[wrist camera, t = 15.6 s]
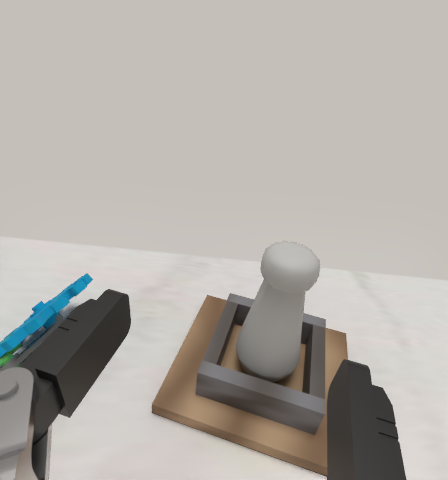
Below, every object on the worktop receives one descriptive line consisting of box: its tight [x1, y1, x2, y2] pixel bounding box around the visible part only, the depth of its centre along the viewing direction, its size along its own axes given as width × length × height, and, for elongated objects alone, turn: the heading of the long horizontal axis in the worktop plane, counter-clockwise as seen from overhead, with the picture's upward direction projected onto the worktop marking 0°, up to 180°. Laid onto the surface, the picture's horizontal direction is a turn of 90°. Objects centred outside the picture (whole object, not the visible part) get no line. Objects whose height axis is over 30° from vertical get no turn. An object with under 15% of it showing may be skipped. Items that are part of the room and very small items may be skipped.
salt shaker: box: [236, 241, 320, 382], centre depth 26 cm, size 6×6×13 cm
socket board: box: [152, 293, 348, 476], centre depth 29 cm, size 16×14×4 cm
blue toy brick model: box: [0, 274, 93, 371], centre depth 29 cm, size 11×6×10 cm
